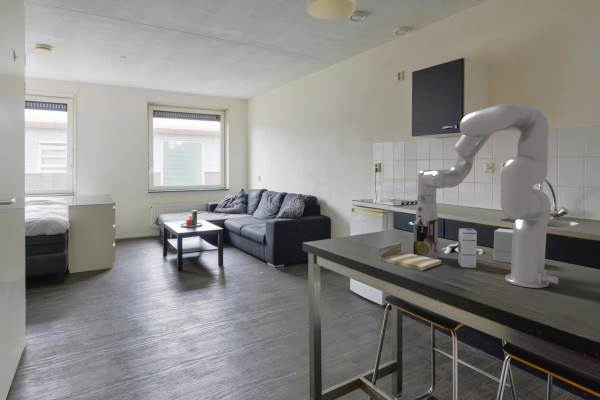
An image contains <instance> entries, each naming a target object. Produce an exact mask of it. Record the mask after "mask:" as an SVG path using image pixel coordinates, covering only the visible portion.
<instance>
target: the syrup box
mask: <svg viewBox="0 0 600 400" xmlns="http://www.w3.org/2000/svg"><path fill="white" fill-rule="evenodd" d="M477 235H478V233H477V230H476V229H474V228H471V227H463V228H458V240H457V241H458V242H457V243H458V253H457V264H458V265H459V267H460V268H471V269H473V268H474V269H475V268H477V253H476V249H477V246H478V245H477V241H478V239H477V237H478V236H477Z"/></svg>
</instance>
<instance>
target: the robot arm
mask: <svg viewBox="0 0 600 400" xmlns="http://www.w3.org/2000/svg"><path fill="white" fill-rule="evenodd" d="M549 127H550V126H549V121H548V119H547V117H546V115H545V114H544V113H543V112H542V111H541V110H538V109H536V108H534V107H532V106H527V105H522V104H513V103H500V104H497V105H492V106H489V107H486V108H482V109H478V110H475V111H471V112H469V113H467V114H466V115H464V116H463V117H462V119H461V120H460V123H459V130H460V133H461V136H460V137H459V138H458V140H457V141H456V143H455V144H454V147H453V148H454V151H455V152H456V154H458V157H457V159H456V161H455V162H454V163H453V165H452V167H451V168H449V169H446V168H445V169H437V170H436V169H435V170H434V169H421V170H419V171H418V173H417V205H416V214H415V220H416V221H415V223H414V222H413V226H414V225H415V229H416V232H417V241H420V242H424V232H423V231H424V228H425V227H428V226H429V222H430V221H434V220H438V221H439V219H438V217H439V216H438V204H437V189H438V190H440V189H450V188H455V187H458V186H459V185H460V184H461V183H462V182H463V181H464V180H465V179H466V178H467V176H468V175H469V174H470V172H471V171H472V168H473V165H474V160H475V157H476V156H477V154H478V153H479V152H480V151H481V150H482V148H483V147H484V146H485V145H486V143H487V142H488V141H489V139H490V138H491V137H492V136H493V135H494V133H495V132H501V131H509V132H510V131H511V132H514V131H515V132H519V133H520V134H519V138H518V141H517V154H516V155H517V156H514V157H511V158H510V159H508V160H507V161H506V162H505V163H504V164H503V167H502V169H501V173H500V208H501V210H502V213H503V214H504V216H505V217H507V218H508V219H510V220H514V223H513V227H512V230H513V240H512V260H511V263H510V273H508V274H506V275H505V276H504V279H505V280H506V282H508V283H509V284H512V285H515V286H518V287H525V288H529V289H530V288H531V289H532V288H533V289H543V288H547V287H549V285H550V283H551V284H554V285H559V282H560V279H559V277H557V276H554V275H549V274H548V270H546V269H545V261H546V245H547V243H546V242H547V231H548V230H547V229H548V222H549V217H550V213H551V207H552V205H551V204H552V203H551V200H550V198H549V196H548V195H547V194H546V192H545V191H543V190H540V189H537V188H536V189H535V188H534V187H533V186H535V185H538V184H541V183H542V182H544V181H545V180H546V178H547V177H548V168H549V163H548V161H549V133H550V131H549V129H550V128H549ZM420 221H422V224H423V225H420V224H419V223H420ZM420 227H422V228H420Z"/></svg>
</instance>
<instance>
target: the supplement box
mask: <svg viewBox="0 0 600 400" xmlns="http://www.w3.org/2000/svg"><path fill="white" fill-rule="evenodd" d="M493 233H494V234H493V235H494V237H493V261H494V262H499V263H501V262H502V263H508V264H511V260H512V240H513V229H507V228H497V229H496V230H494V231H493Z"/></svg>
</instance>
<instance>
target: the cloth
mask: <svg viewBox="0 0 600 400" xmlns="http://www.w3.org/2000/svg"><path fill="white" fill-rule="evenodd" d="M441 250H442V251H443V252H444V254H447V255H448V254H449V255H450V254H451V252H455V253H457V254H458V242H456V244H449V245H448V246H447V247H443V248H442V249H441ZM483 254H484V250H483V249H481V248H476V255H483Z"/></svg>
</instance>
